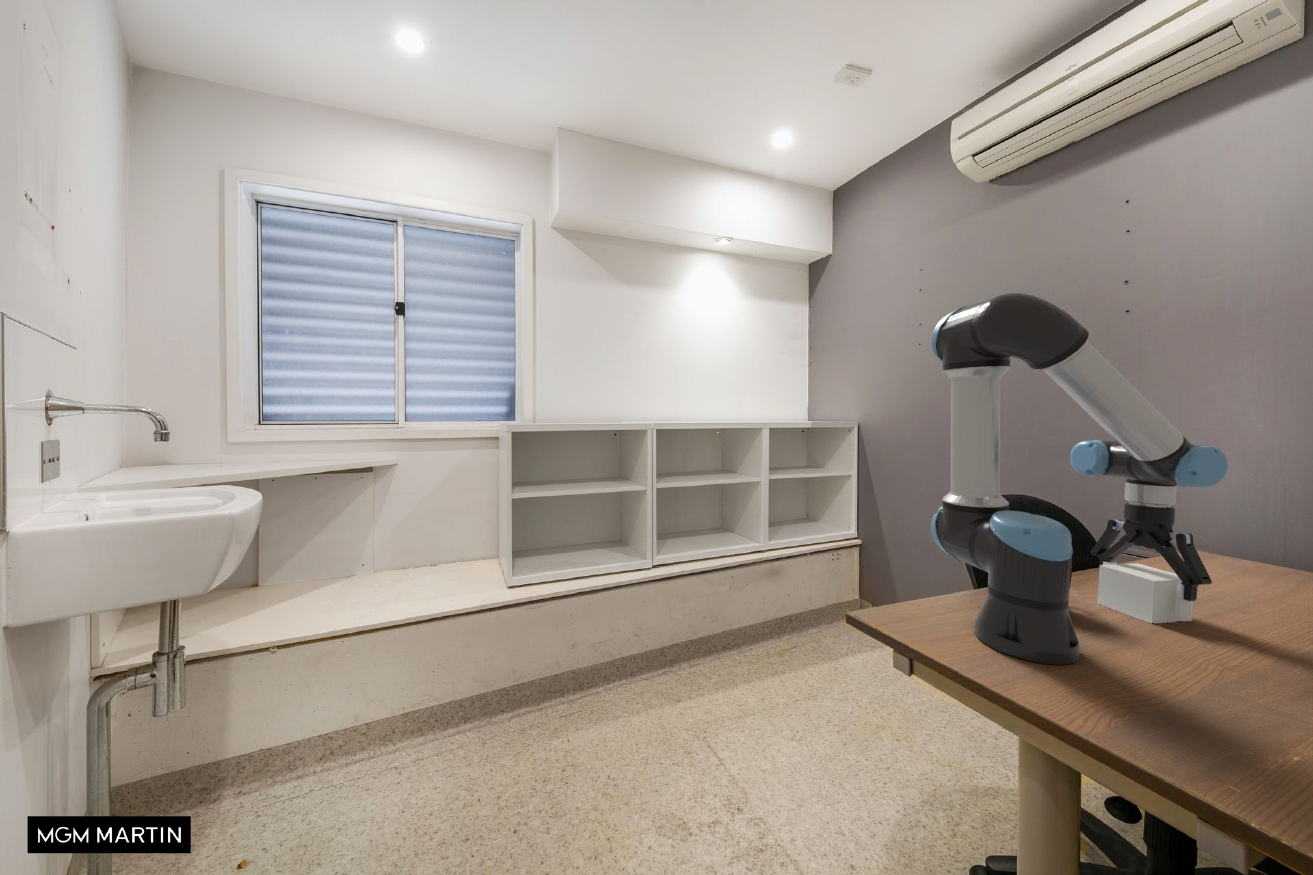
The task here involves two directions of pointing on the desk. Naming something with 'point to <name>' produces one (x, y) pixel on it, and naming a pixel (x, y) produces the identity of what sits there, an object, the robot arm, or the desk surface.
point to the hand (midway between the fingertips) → (1143, 601)
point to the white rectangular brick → (1140, 592)
